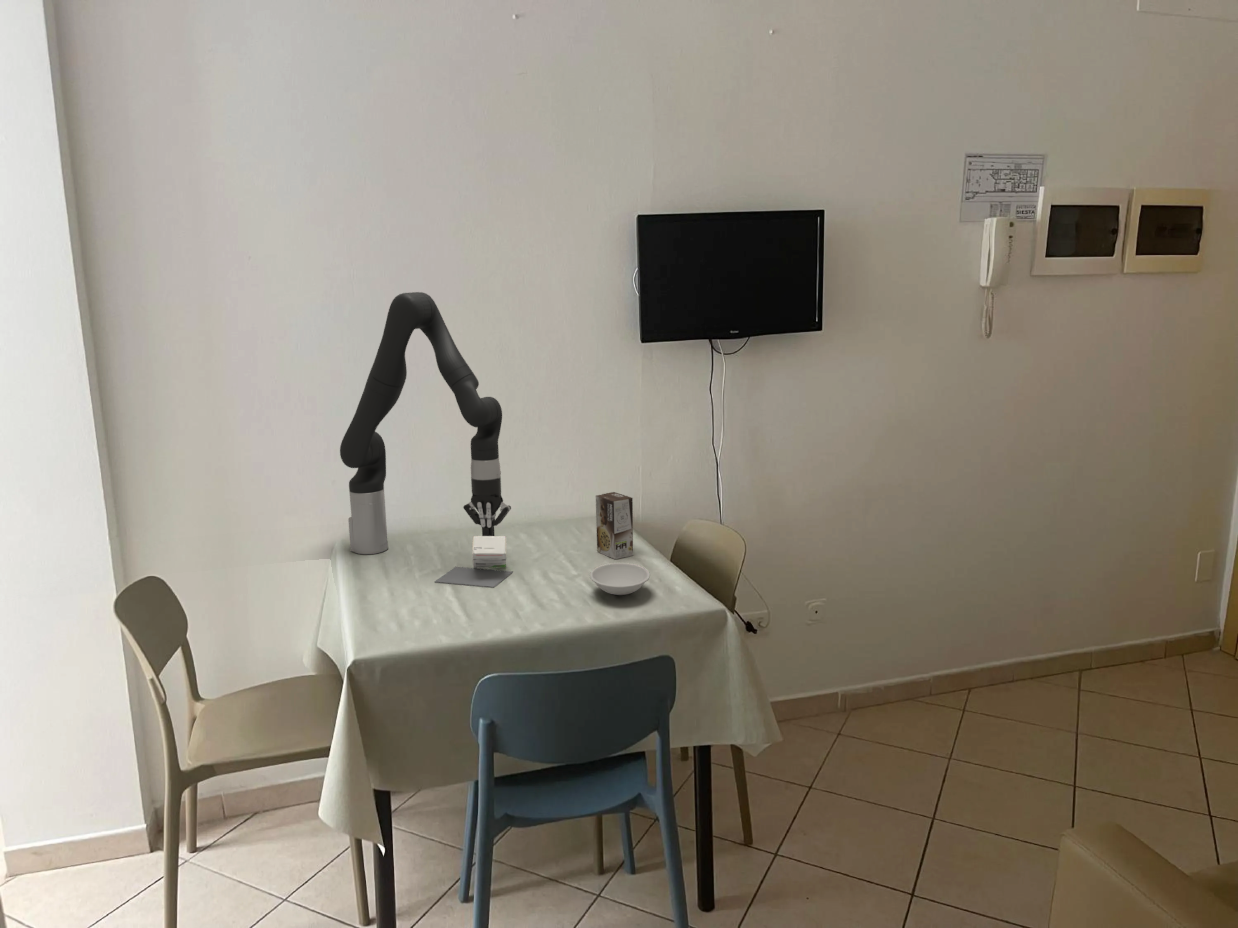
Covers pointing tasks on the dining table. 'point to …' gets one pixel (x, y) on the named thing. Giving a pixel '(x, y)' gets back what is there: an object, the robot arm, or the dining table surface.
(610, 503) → the coffee box
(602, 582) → the dish
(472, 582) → the mat
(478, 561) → the ink box
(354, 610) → the dining table surface
